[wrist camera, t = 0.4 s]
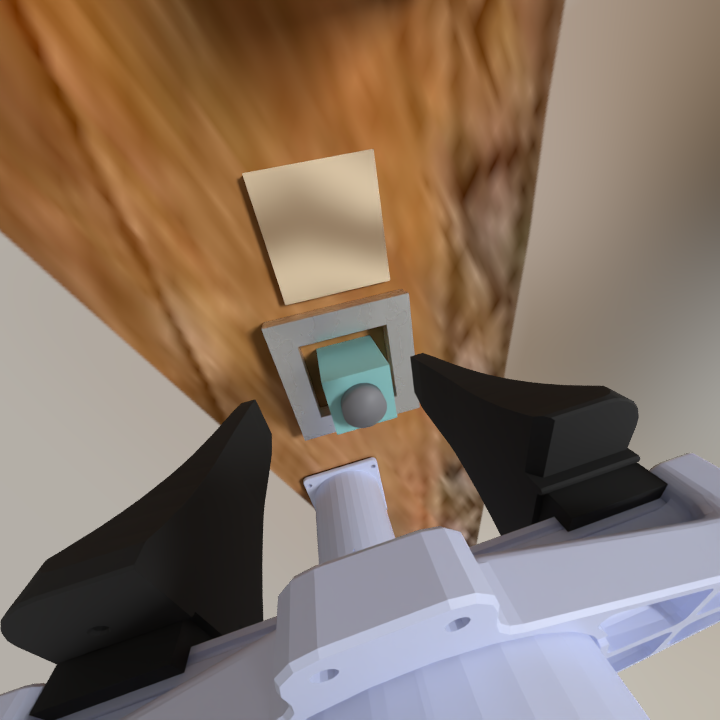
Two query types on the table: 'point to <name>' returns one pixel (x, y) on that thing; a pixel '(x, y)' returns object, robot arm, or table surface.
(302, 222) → the cork coaster
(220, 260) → the table surface
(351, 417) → the teal cube with dome
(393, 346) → the block
